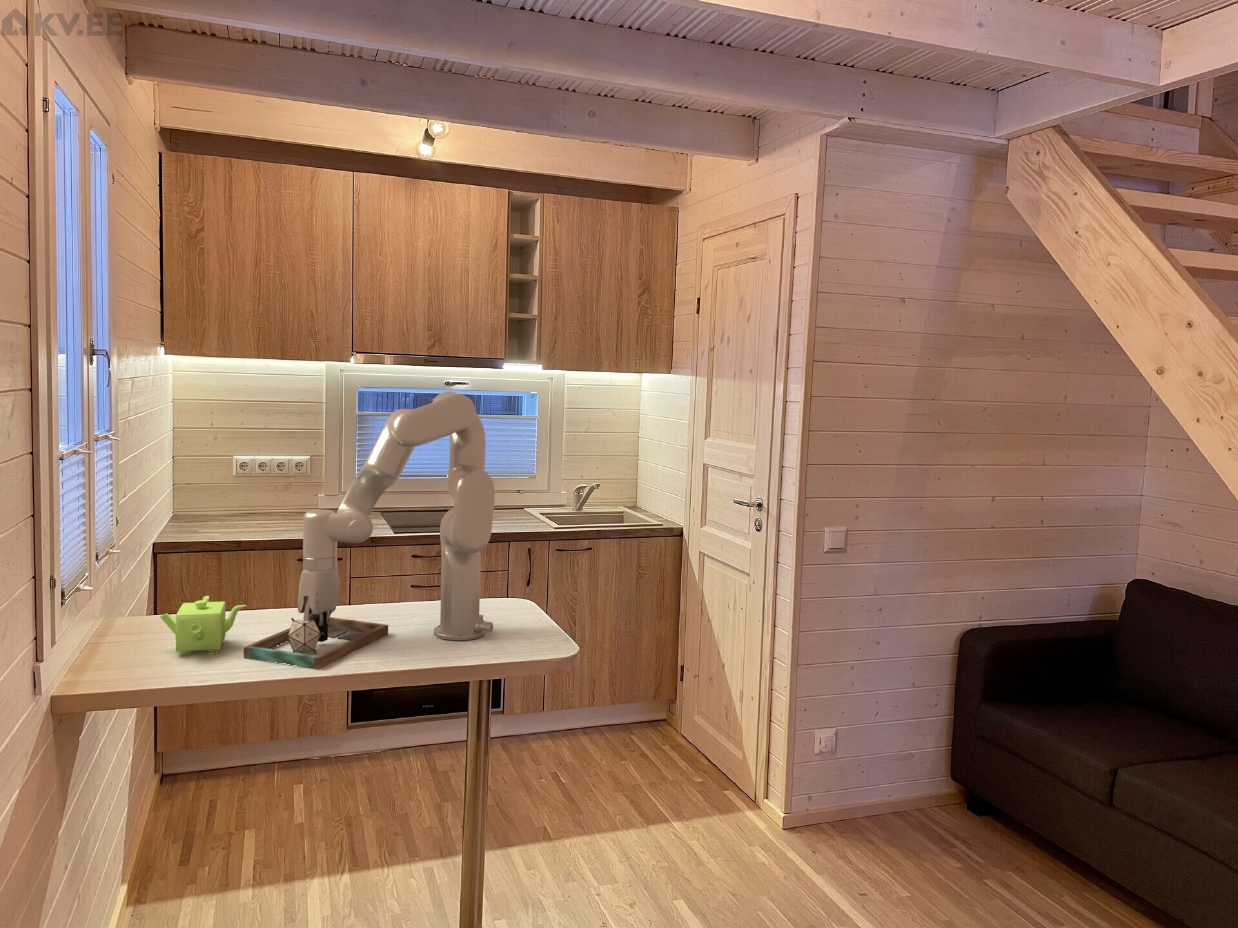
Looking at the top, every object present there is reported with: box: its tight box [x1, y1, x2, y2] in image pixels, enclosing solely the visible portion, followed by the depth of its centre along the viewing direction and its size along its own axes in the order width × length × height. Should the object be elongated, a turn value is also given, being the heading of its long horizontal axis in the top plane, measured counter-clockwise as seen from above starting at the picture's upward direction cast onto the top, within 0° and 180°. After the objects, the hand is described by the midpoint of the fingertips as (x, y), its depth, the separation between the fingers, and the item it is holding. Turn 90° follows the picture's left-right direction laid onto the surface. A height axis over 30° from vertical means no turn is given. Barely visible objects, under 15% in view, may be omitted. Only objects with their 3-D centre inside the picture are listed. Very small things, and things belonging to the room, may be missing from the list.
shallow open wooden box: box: [243, 616, 389, 670], centre depth 213 cm, size 19×28×2 cm
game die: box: [284, 616, 324, 654], centre depth 207 cm, size 9×8×10 cm
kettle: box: [159, 595, 247, 656], centre depth 207 cm, size 15×14×11 cm
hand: (319, 640), depth 213 cm, fingers closed
